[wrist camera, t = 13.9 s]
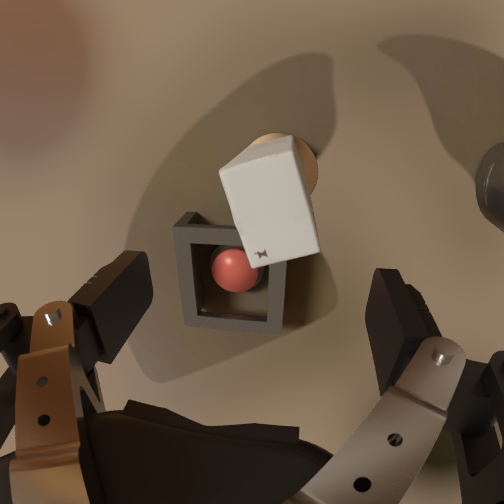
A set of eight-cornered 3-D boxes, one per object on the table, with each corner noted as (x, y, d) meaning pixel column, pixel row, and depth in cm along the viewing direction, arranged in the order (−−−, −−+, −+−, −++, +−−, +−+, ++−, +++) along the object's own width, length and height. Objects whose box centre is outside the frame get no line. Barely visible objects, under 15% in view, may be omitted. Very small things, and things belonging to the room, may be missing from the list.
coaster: (319, 135, 26) (320, 135, 25) (315, 209, 29) (315, 211, 28) (240, 132, 27) (239, 132, 26) (240, 205, 30) (239, 207, 29)
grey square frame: (289, 216, 30) (288, 232, 26) (283, 311, 34) (281, 334, 31) (186, 211, 31) (172, 226, 27) (195, 303, 35) (185, 325, 32)
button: (265, 242, 31) (263, 248, 29) (263, 290, 33) (262, 298, 32) (208, 239, 31) (205, 244, 30) (211, 286, 34) (208, 294, 33)
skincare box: (311, 196, 28) (322, 256, 17) (266, 207, 29) (249, 272, 18) (293, 131, 26) (294, 148, 15) (246, 144, 27) (214, 171, 16)
